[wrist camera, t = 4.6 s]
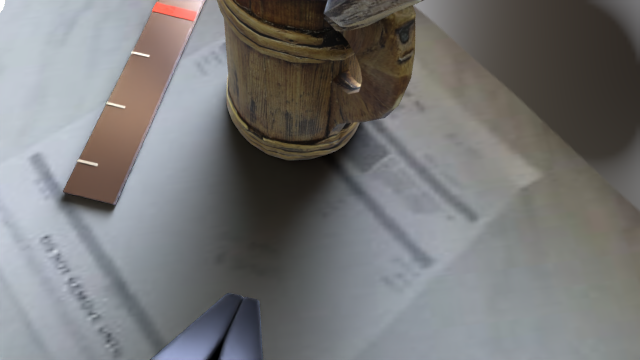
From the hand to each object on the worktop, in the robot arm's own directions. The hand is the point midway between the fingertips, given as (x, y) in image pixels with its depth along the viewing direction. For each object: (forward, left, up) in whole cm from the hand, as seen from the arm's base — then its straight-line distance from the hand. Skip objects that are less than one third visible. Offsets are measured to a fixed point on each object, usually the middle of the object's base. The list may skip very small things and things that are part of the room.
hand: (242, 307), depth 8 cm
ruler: (-8, +15, -10) cm, 20 cm away
